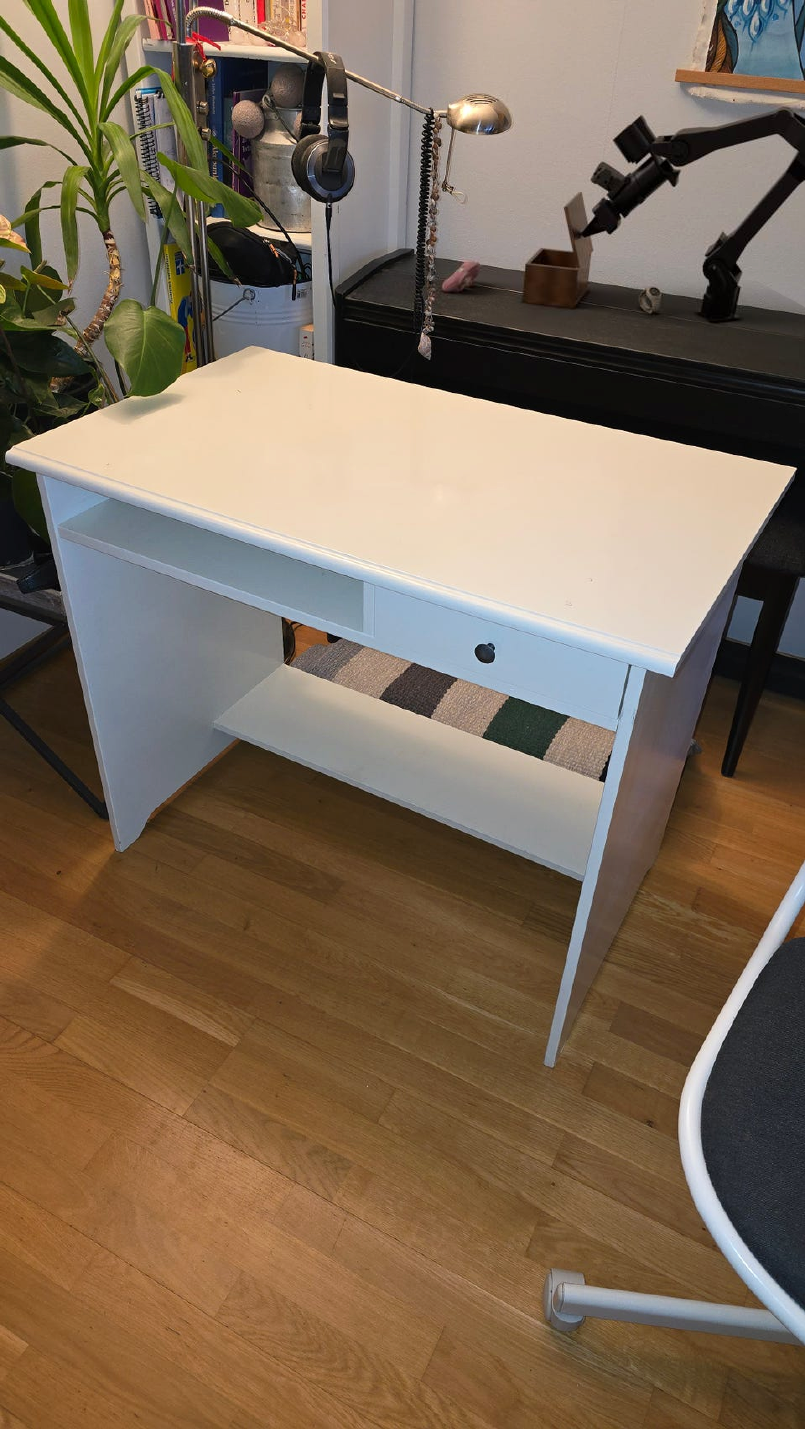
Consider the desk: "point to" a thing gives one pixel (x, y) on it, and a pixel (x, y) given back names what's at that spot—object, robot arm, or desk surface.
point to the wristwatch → (653, 295)
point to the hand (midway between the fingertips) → (582, 235)
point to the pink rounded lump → (463, 276)
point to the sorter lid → (578, 229)
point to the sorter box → (555, 278)
